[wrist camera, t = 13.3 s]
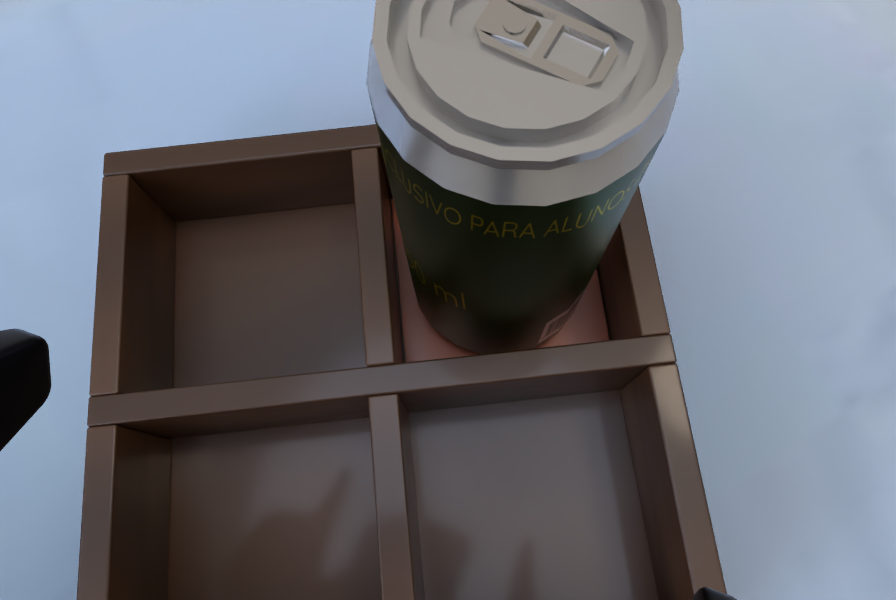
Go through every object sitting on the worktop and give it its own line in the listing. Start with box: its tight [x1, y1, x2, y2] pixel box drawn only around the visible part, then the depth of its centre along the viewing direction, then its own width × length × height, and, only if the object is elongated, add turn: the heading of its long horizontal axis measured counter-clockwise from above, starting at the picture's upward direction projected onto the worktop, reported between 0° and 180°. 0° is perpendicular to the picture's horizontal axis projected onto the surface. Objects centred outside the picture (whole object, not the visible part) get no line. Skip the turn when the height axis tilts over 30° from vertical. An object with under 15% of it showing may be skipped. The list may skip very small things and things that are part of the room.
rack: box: [77, 124, 727, 600], centre depth 20 cm, size 16×16×4 cm
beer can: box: [366, 0, 683, 354], centre depth 16 cm, size 5×5×12 cm
